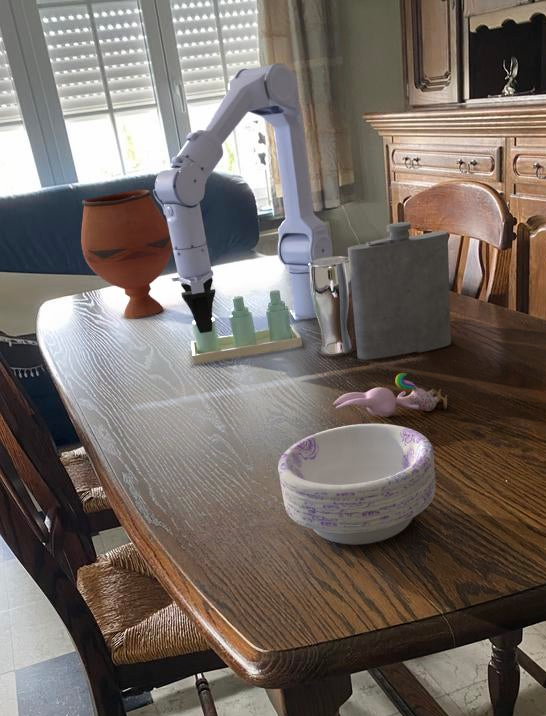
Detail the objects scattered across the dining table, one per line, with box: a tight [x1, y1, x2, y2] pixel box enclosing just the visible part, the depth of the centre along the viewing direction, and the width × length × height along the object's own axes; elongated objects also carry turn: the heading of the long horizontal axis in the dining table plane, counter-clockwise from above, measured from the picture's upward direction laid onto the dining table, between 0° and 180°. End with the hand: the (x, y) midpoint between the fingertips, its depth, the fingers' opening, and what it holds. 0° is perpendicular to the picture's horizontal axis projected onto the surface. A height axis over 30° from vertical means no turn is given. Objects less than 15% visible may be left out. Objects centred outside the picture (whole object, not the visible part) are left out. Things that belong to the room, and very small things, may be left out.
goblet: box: [80, 189, 173, 319], centre depth 163 cm, size 19×19×25 cm
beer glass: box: [309, 255, 357, 357], centre depth 123 cm, size 7×7×15 cm
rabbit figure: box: [333, 372, 448, 418], centre depth 98 cm, size 6×6×15 cm
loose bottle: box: [191, 317, 220, 354], centre depth 131 cm, size 4×4×9 cm
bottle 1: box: [229, 295, 257, 348], centre depth 132 cm, size 4×4×9 cm
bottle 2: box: [265, 289, 292, 342], centre depth 132 cm, size 4×4×9 cm
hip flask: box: [347, 221, 452, 361], centre depth 117 cm, size 16×4×20 cm, turn 103°
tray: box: [190, 324, 303, 365], centre depth 134 cm, size 19×9×2 cm, turn 99°
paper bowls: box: [277, 423, 436, 546], centre depth 74 cm, size 15×15×8 cm
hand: (205, 326), depth 131 cm, fingers open, 7 cm apart
